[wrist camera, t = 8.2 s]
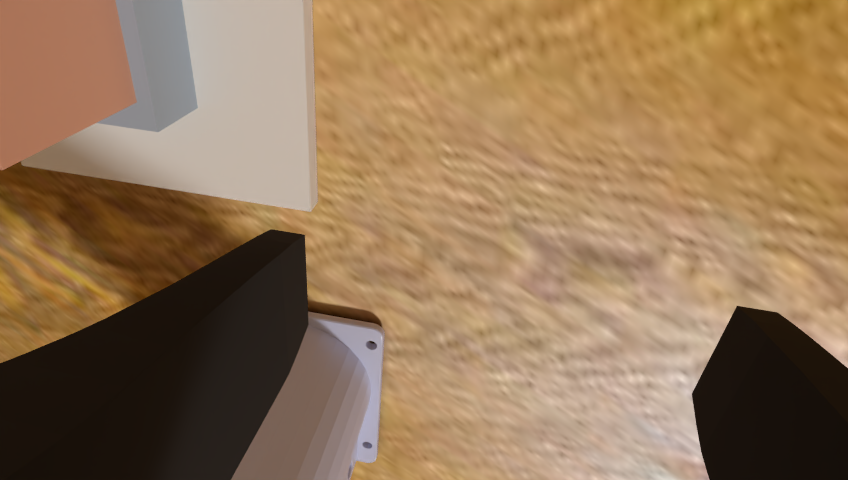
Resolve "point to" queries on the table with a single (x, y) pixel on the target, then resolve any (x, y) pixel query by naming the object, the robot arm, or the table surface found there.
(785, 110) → the table surface
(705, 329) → the table surface
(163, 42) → the base brick
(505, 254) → the table surface
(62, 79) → the top brick
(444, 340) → the table surface
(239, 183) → the board
